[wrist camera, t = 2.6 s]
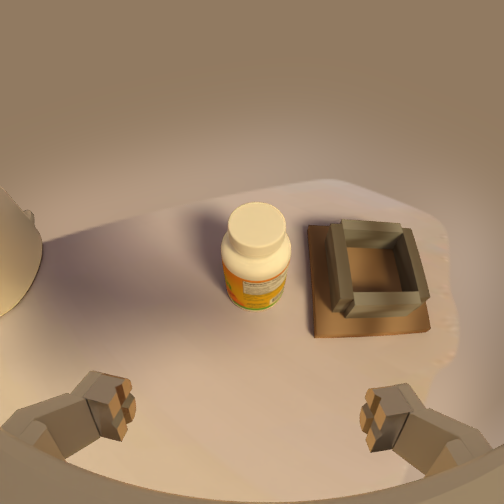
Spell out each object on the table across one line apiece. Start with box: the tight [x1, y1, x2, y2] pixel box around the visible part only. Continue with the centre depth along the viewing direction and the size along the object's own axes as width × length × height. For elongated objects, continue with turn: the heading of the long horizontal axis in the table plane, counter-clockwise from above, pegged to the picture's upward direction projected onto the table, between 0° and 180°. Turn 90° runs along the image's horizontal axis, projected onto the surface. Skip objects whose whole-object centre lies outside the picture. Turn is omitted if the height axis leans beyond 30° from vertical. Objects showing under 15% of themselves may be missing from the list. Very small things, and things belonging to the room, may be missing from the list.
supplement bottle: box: [221, 202, 291, 312], centre depth 24 cm, size 5×5×10 cm
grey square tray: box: [307, 219, 431, 338], centre depth 27 cm, size 12×12×4 cm
